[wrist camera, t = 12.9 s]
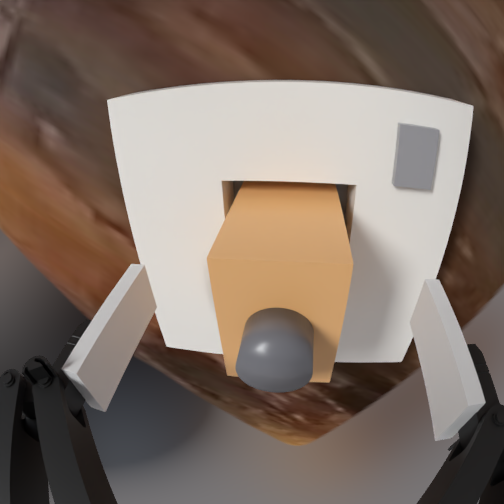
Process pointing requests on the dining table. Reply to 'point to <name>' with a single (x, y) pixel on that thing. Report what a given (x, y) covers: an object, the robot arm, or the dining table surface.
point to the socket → (293, 170)
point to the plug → (281, 283)
